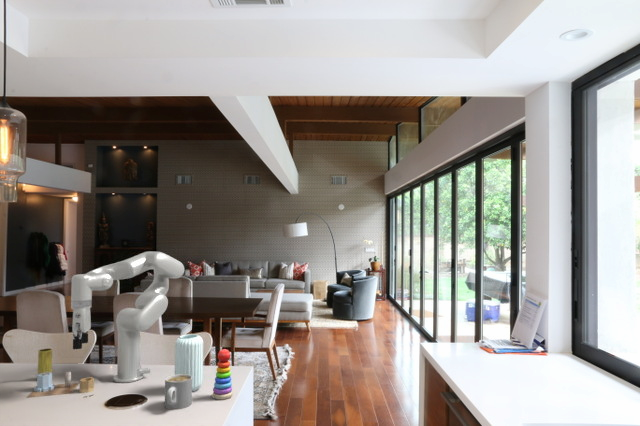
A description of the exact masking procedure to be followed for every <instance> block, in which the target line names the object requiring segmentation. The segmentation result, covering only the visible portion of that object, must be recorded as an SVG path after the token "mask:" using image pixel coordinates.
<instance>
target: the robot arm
mask: <svg viewBox="0 0 640 426" xmlns="http://www.w3.org/2000/svg"><path fill="white" fill-rule="evenodd" d="M149 270H153V281H152V282H151V284H150V285H149V286H148V287H147V288H146V289H145V290H144V291H142V293H141V294H140V295H138V297H137V298H136V300H135V305H134V306H135V308H134V307H125V308H123V309H121V310H120V311H119V312H118V313H117V315H116V319H115V321H116V329H117V363H116V364H117V372H116V374H115V375H114V376H113V379H112V380H113V381H114V382H116V383H131V382H137V381H139V380H141V379H143V378H144V374H145V375H147V374H151V368H148V367H146V368H143V367H142V365H141V341H142V340H141V339H142V338H141V337H142V336H141V333H140V332H146V331H147V330H149V329H150V328H151V327H152V326H153V325H154V324H155V323H156V322H157V321H158V320H159V319H160V318H161V316H162V315H163V314H164V313H165V312H166V310H167V308H168V307H169V306H168V304H169V299H168V297H167V296H166V295H167V293H168V291H169V288H170V287H169V286H170V283H169V282H170V280H169V279H179V278H182V276H183V275H184V273H185V266H184V264H183V263H182V262H181V261H179V260H177V259H176V258H174V257H172V256H170V255H168V254H166V253H164V252H161V251H150V250H149V251H144V252H142V253H138V254H137V255H134V256H132V257H129V258H126V259H124V260H121V261H117V262H115V263H110V264H107V265H103V266H100V267H98V268H95V269H92V270H90V271H88V272H86V273H83V274H82V273H80V274H74V275H72V277H71V287H70V288H71V291H70V292H71V295H70V297H71V298H70V299H71V300H70V302H71V303H70V309H71V310H73V311H72V326H71V327H72V329H71V330H72V333H73V335H72V349H73V350H81V349H83V344H88V343H89V331H90V330H91V327H92V326H91V325H92V322H91V321H92V320H91V319H92V318H91V317H92V316H91V308H92V301H93V299H92V297H93V291H106V290H108V289H111V288H112V286H113V284H114V281H118V280H125V279H126V280H128V279H131V278H134V277H136V276H139V275H141V274H143V273H144V272H146V271H149Z"/></svg>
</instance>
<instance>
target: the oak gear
mask: <svg viewBox="0 0 640 426" xmlns="http://www.w3.org/2000/svg"><path fill="white" fill-rule="evenodd" d="M78 388H79V391H78V393H81V394H86V393H87V394H89V393H91V392H93V391H94V390H95V377H91V376H90V377H84V378H81V379H80V380H79V387H78ZM92 396H94V394H91V395H89V397H92ZM84 398H88V395H87V396H86V395H85V396H84Z"/></svg>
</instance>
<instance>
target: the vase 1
mask: <svg viewBox="0 0 640 426" xmlns="http://www.w3.org/2000/svg"><path fill="white" fill-rule="evenodd" d="M37 354H38V355H37V375H39V374H41V373H52V374H53V349H52V348H41V349H39V350H38V353H37Z"/></svg>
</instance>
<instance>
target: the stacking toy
mask: <svg viewBox="0 0 640 426" xmlns="http://www.w3.org/2000/svg"><path fill="white" fill-rule="evenodd" d="M230 358H231V351H229V349H226V348H224V349H221V350H219V352H218V354H217V359H218V360H219V361H218V362H217V364H216V365H217V367H216V373H215V376H216V377H215V378H214V384H213V386H214V387H213V388H212V391H213V392H212V394H211V395H212V397H213V399H215V400H227V399H230V398H231V397H232V396H233V394H234V393H233V391H232V390H233V387H232V385H233V384H232V376H231V375H232V372H231V367H230V366H231V361H230Z"/></svg>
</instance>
